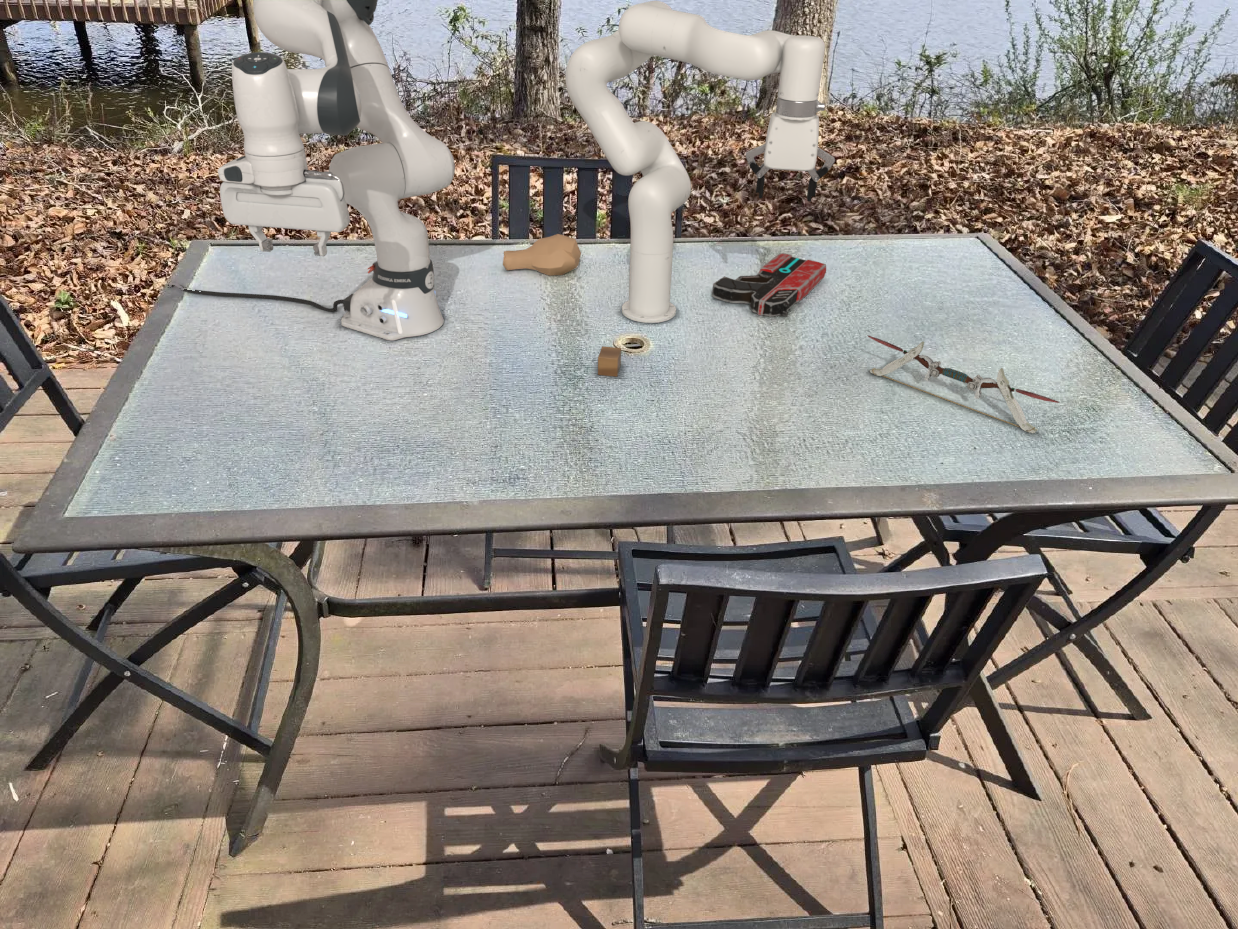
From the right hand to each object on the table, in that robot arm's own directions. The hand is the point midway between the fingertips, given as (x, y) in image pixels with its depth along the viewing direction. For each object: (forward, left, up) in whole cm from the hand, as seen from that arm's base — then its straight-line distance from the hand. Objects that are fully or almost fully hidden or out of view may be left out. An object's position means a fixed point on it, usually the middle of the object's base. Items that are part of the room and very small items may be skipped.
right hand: (784, 197), depth 176 cm
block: (+26, -28, -31) cm, 49 cm away
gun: (-28, -3, -31) cm, 42 cm away
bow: (+16, +38, -31) cm, 52 cm away
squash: (-20, -61, -31) cm, 71 cm away
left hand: (+60, -73, -1) cm, 94 cm away
